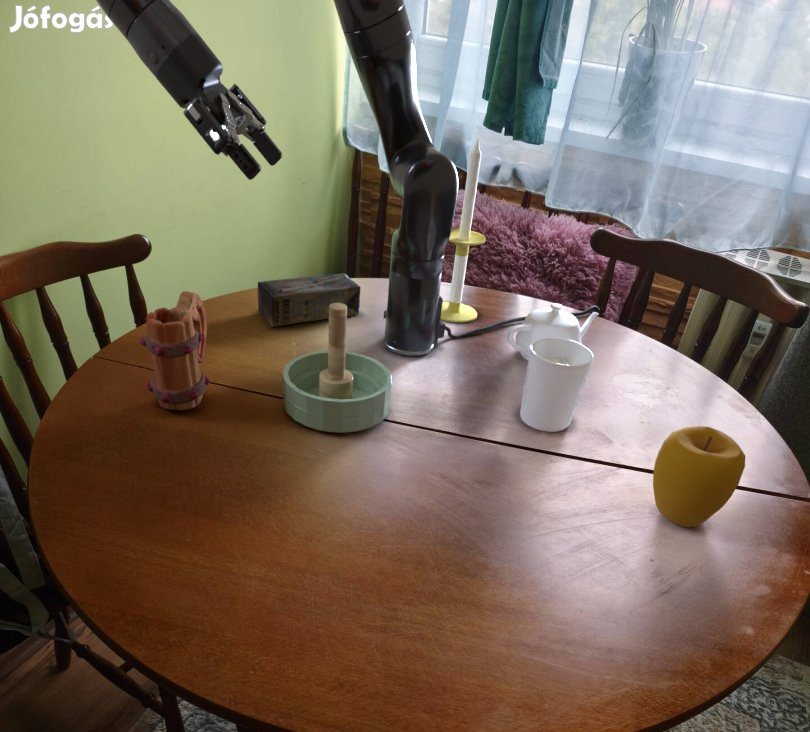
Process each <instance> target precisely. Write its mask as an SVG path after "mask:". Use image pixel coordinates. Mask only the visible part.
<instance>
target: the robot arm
mask: <svg viewBox="0 0 810 732" xmlns="http://www.w3.org/2000/svg"><path fill="white" fill-rule="evenodd" d="M95 1H96V3H97V4H98V5H99V7H100V9H101V10H102V11H103V13H104V14H105V15H106V17H107V18H108V19H109V20H110V22H111V23H112V24H113V25H114V26H115V27H116V29H117V30H118V31H119V32H120V33H121V35H122V36H123V37H124V39H125V40H126V41H127V42H128V43H129V45H130V46H131V48H132V49H133V51H135V54H136V56H137V57H138V58H139V59H140V61H141V62H142V63H143V65H144V66H145V67H146V68H147V69H148V70H149V72H150V73H151V74H152V75H153V76H154V78H155V79H156V81H158V82H159V84H160V85H161V86H162V87H163V88H164V90H165V91H166V92H167V93H168V95H169V96H170V97H171V98H172V99H173V100H174V102H175V103H176V104H177V106H179V108H181V109H183V111H182V114H183V115H184V117H185V119H186V120H188V121H189V122H188V123H190V124H191V126H192V127H193V128H194V129H195V130H196V132H197V133H198V134H199V136H200V137H201V138H202V139H203V141H204V142H205V143H206V145H207V146H208V147H209V148H210V149H211V151H212V152H213V153H214V154H215V155H216V156H219V155H220V154H223V155H224V156H225V157H229V158H230V159H231V160H232V161H233V163H234V164H235V165H236V166H237V168H238V169H239V170H240V171H241V173H242V174H243V175H244V176H245V177H246V178H247V179H248V180H249V181H252V180H253V179H255V178H256V177H257V176H258V175H259V173H261V171H262V166H261V165H260V164H259V162H258V161H257V160H256V158H255V157H254V156H253V155H252V153H250V151H249V150H248V148H246V146H245V145H244V144H243V143H241V140H240V139H239V138H240V137H239V136H240V135H242V136H243V137H245V138H246V139H248V140H249V141H250V142H252V144H253V146H254V147H255V148H256V149H257V151H258V152H259V153H260V155H261V156H262V158H264V159H265V161H266V162H267V164H268V165H270V166H272V167H273V166H276V164H277V163H278V162H279V161H280V160H281V159H282V158H283V153H282V151H281V150H280V149H279V147H278V146H277V144H276V143H275V142H274V141H273V140H272V139H271V137H270V136H269V134H268V133H267V131H266V127H265V126H266V125H267V120H266V118H265V117H264V116H263V115H262V114H261V112H260V111H259V110H258V108H256V106H255V105H254V104H253V103H252V101H251V100H250V99H249V98H248V96H247V95H246V94H245V93H244V92H243V90H242V89H241V88H240V86H238V85H237V84H236V83H233V84H232V86H231V87H230V88H227V87H226V86H225V85H224V84H223V83H221V76H222V74H223V71H224V66H223V63H222V62H221V61H220V59H219V58H218V57H217V55H216V54H215V53H214V52H213V50H212V49H211V48H210V46H208V44H207V43H206V42H205V40H204V39H203V37H201V35H200V34H199V32H198V31H197V30H196V29H195V27H194V26H193V25H192V23H191V22H190V21H189V20H188V18H187V17H186V16H185V15H184V14H183V12H181V11H180V9H178V8H177V7H176V6H175V5H174V3H173V2H171V0H95ZM333 3H334V6H335V7H334V8H335V11H336V14H337V16H338V20H339V24H340V26H341V30H342V33H343V36H344V39H345V42H346V45H347V48H348V51H349V55H350V57H351V60H352V62H353V65H354V67H355V70H356V73H357V75H358V79H359V81H360V84H361V87H362V89H363V92H364V94H365V97H366V99H367V102H368V104H369V107H370V109H371V112H372V114H373V116H374V119H375V122H376V126H377V128H378V132H379V135H380V140H381V144H382V148H383V153H384V156H385V157H384V158H385V162H386V166H387V169H388V174H389V179H390V183H391V185H392V188H393V190H394V192H395V194H396V195H397V197H398V198H399V199H400V200H401V201H402V204H401V205H402V206H401V214H400V224H399V228H397V229H396V230H395V231H393V232H392V236H391V245H390V257H389V258H390V260H389V275H388V287H387V300H386V301H387V302H386V309H385V310H383V320H385V326H384V337H383V346H384V348H386V349H387V350H388V351H390V352H392V353H394V354H397V355H401V356H405V357H420V356H421V357H422V356H425V355H428V354H430V353H431V352H432V351H433V350H434V349H435V348H438V343H439V339H441V338H444V337H445V332H447V336H448V337H449V338H451V339H461V338H467V337H470V336H473V335H476V334H478V333H483V332H486V331H489V330H491V329H494V328H497V327H500V326H504V325H507V324H513V323H517V322H523V321H524V320H525V318H526V317H527V316H528V315H526V316H521V317H516V318H510V319H506V320H501V321H498V322H494V323H492V324H489V325H486V326H482V327H479V328H476V329H473V330H470V331H468V332H465V333H463V334H453V333H452V329H451V328H450V327H449V326H448V325H446V323H445V322H443V321H442V320H441V312H442V304H443V302H444V299H443V297H442V296H441V295H440V292H441V284H442V274H443V266H444V257H445V251H446V247H447V244H448V242H449V238H450V235H451V231H452V229H453V225H454V219H455V213H456V206H457V201H458V194H459V193H458V192H459V176H458V171H457V168H456V165H455V163H454V162H453V160H452V159H451V158H450V157H448V156H447V155H446V154H444V153H443V152H442V151H440V150H438V149H437V148H436V147H435V145H434V143H433V140H432V139H431V135H430V133H429V131H428V128H427V127H428V126H427V125H426V122H425V118H424V116H423V112H422V109H421V106H420V101H419V92H418V69H417V68H418V66H417V63H418V62H417V52H416V51H417V50H416V45H415V39H414V35H413V30H412V26H411V23H410V19H409V16H408V15H409V14H408V12H407V8H406V4H405V1H404V0H333ZM593 310H595V312H600V311H601V309H600V308H599V306H597V305H592V306H589V308H587V309H585V310H583V311H577V312H569V313H570V314H572V315H574V316H575V317H579V316H584V315H587V314H589V313H590V312H592V311H593Z"/></svg>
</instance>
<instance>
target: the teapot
mask: <svg viewBox="0 0 810 732" xmlns="http://www.w3.org/2000/svg"><path fill="white" fill-rule="evenodd" d="M570 313H571V312H568V311H566V310H563V305H562V304H560V303H557V302H553V303H551V304H550V307H538V308H534V309H533V310H531V311H530V312H529V313H528V315H526V316H527V317H526V316H525V317H526V318H525V320H524V321H522V323H521V324H520V325H519V324H518V325H515V326H512V327H510V328H509V329H508V331H507V334H506V340H507V342H508V343H509V345H510V346H511V347H512V349H514V350H515V351H518V352H519V353H520V355H521V357H522V358H523V359H524V361H527V362H528V359H529V353H530V345H531V343H532V342H534V341H535V340H537V339H541V338H548V337H554V338H563V339H568V340H572V341H575V342H577V343H580V344H582V338H583V337H584V336H585V334H586V333H587V332H588V330H589V328H590V327H591V325H592V323H593V321H594V320H595V319H596V318H597V317H598V316H599V315H600V313H599V312H598V311H592V313H591V314H590V315H589V316H588V317H587V319H586V320H585V321H584V323H583V324H582V326H580V323H579V320H578V318H577V316H574V315H572V314H570ZM515 333H516V334H515ZM514 334H515V339H514ZM582 345H583V344H582Z"/></svg>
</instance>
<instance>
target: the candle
mask: <svg viewBox="0 0 810 732" xmlns="http://www.w3.org/2000/svg"><path fill="white" fill-rule="evenodd" d="M482 153H483V152H482V150H481V148H480V140H479V138H477V139H476V141H475V143H474V146H473V148H472V149H471V150H470V152H469V158H468V164H467V171H466V173H467V174H466V179H465V187H464V195H463V202H462V208H461V217H460V223H459V228H452V231H451V235H450V238H449V241H448V242H449V243H453V244H456V247H455V253H454V254H455V255H454V261H453V269H452V276H451V283H450V284H451V285H450V292H449V298H448V301H443V304H442V312H441V319H440V321H445V322H449V323H455V324H456V323H457V324H459V323H463V324H464V323H470V322H473V321H475V320H476V319H477V318H478V312H477V311H476V309H475V308H473V307H472V306H470V305H468V304H464V303H462V298H463V290H464V285H465V278H466V270H467V263H468V257H469V250H470V246H478V245H479V246H480V245H483V244H485V242H486V239H487V238H486V236H485V235H484V234H482V233H479V231H478V232H477V231H473V230H472V225H473V215H474V209H475V203H476V196H477V195H476V194H477V189H478V188H477V187H478V182H479V173H480V167H481V160H482Z"/></svg>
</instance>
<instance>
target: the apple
mask: <svg viewBox="0 0 810 732" xmlns="http://www.w3.org/2000/svg"><path fill="white" fill-rule="evenodd" d="M745 468H746V454H745V452H744V451H743V449H742V448H741V447H740V445H739V444H738V443H737V442H736V441H735V439H733V438H732V437H731V436H729V435H728V434H726V433H725V432H723V431H721V430H719V429H716V428H713V427H710V426H703V425H702V426H699V425H698V426H686V427H683V428H680V429H677V430H674V431H672V432H671V433H670V434H669V435H668V436H667V437H666V438H665V439H664V440H663V442H662V444H661V446H660V448H659V450H658V452H657V455H656V458H655V461H654V467H653V473H652V488H653V496H654V501H655V506H656V508H657V510H658V512H659V513H660V514H661V515H662V516H663V517H664V518H665V519H667V520H668V521H670V522H671V523H673V524H675V525H676V526H680V527H686V528H692V527H698V526H700V525H702V524H703V523H704V522H706V521H707V520H709V519H710V518H711V517H712V516H714V515H715V514H716V513H717V512H719V511H720V510H721V509H722V508H723V507H724V506H725V505H726V504H727V503H728V501H729V500H730V499H731V498H732V496H733V494H734V492H735V491H736V489H737V488H738V486H739V484H740V481H741V478H742V475H743V473H744V470H745Z"/></svg>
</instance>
